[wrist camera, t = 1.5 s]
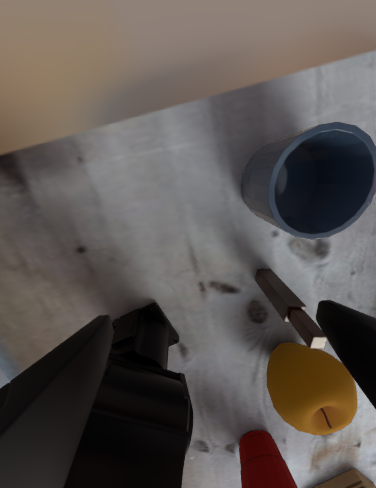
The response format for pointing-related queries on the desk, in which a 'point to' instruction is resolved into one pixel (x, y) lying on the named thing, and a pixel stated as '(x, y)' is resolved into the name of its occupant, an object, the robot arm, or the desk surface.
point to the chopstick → (290, 308)
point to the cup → (312, 180)
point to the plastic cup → (263, 462)
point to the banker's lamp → (348, 481)
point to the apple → (311, 389)
